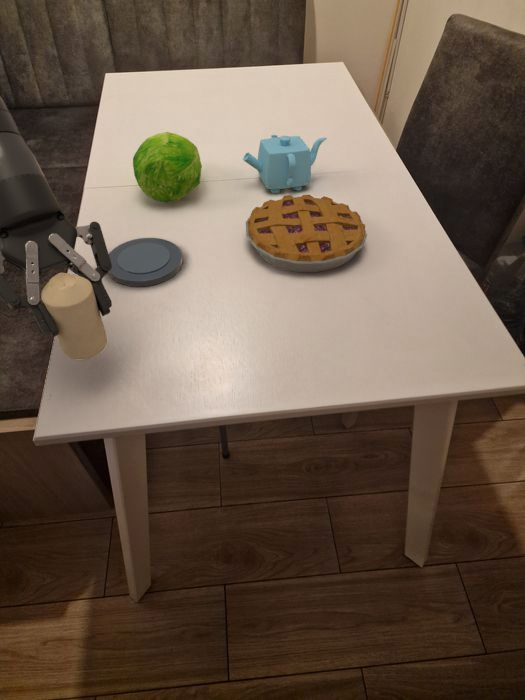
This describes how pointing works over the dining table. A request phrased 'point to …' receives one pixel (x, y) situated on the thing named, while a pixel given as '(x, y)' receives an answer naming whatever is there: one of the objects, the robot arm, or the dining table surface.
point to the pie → (305, 233)
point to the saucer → (144, 262)
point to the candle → (75, 315)
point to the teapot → (284, 162)
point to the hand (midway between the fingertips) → (81, 323)
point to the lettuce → (167, 167)
